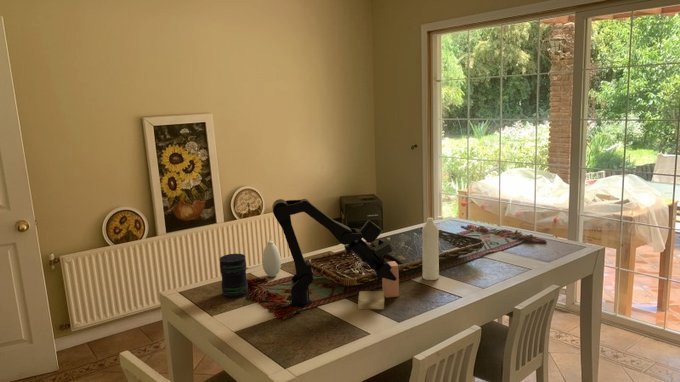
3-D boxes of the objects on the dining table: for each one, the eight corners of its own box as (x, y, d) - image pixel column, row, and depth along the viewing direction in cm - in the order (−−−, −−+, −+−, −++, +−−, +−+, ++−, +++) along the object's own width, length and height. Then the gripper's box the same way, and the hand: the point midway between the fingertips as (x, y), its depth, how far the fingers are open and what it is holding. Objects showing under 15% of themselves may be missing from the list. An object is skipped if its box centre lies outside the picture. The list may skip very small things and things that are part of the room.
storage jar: (252, 290, 198) (249, 254, 196) (241, 300, 189) (238, 262, 186) (229, 288, 201) (226, 253, 198) (217, 298, 192) (214, 261, 189)
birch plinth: (358, 309, 177) (358, 301, 176) (359, 298, 186) (359, 291, 185) (383, 309, 176) (383, 301, 175) (384, 298, 185) (384, 291, 184)
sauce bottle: (260, 279, 210) (257, 237, 207) (267, 272, 218) (264, 232, 214) (278, 280, 208) (275, 238, 205) (284, 273, 216) (281, 233, 213)
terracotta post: (385, 297, 186) (385, 266, 184) (382, 292, 191) (381, 262, 189) (398, 296, 187) (398, 265, 184) (395, 291, 192) (394, 261, 189)
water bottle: (427, 281, 200) (426, 220, 195) (419, 276, 206) (419, 217, 201) (446, 278, 203) (446, 218, 198) (438, 273, 209) (438, 214, 204)
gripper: (385, 242, 175) (416, 269, 178) (373, 228, 193) (401, 253, 197) (363, 266, 175) (395, 292, 179) (353, 250, 193) (382, 274, 197)
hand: (393, 277), depth 188 cm, fingers closed on terracotta post, 5 cm apart
